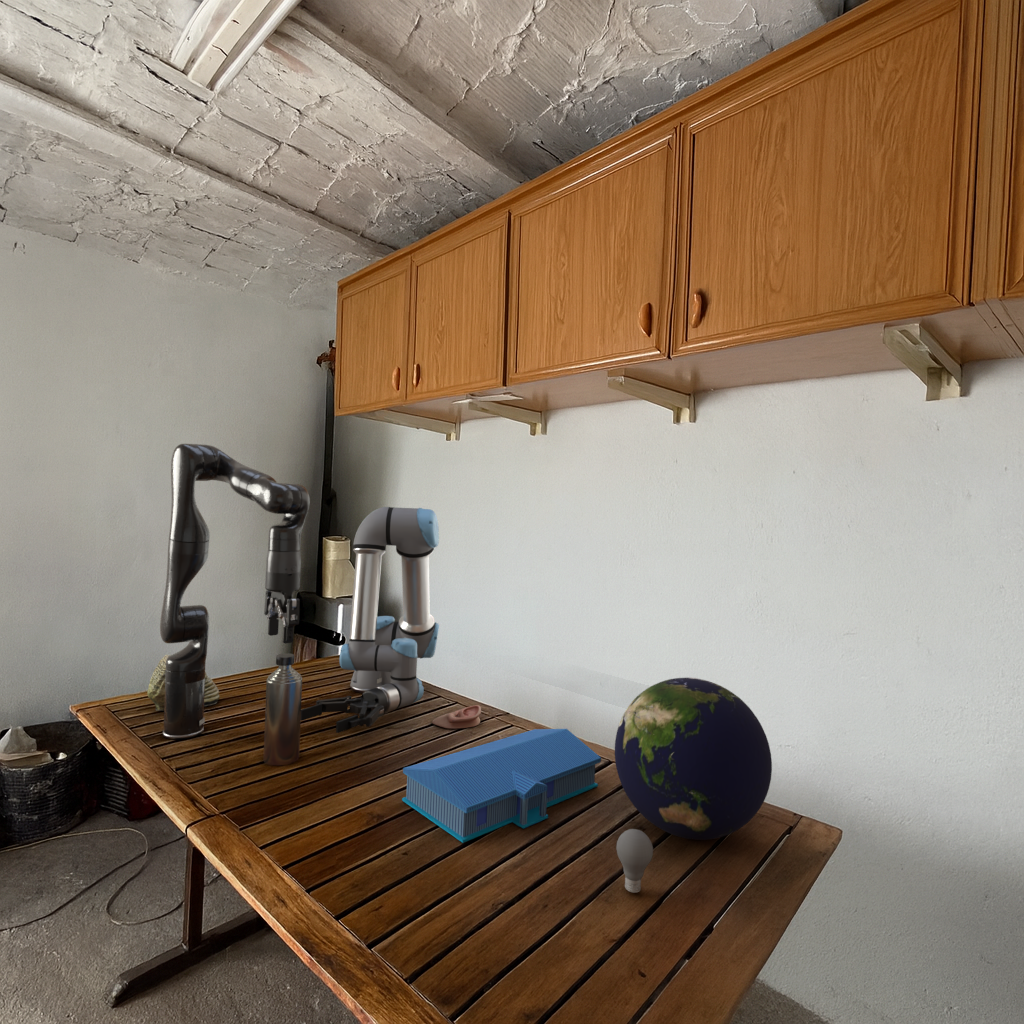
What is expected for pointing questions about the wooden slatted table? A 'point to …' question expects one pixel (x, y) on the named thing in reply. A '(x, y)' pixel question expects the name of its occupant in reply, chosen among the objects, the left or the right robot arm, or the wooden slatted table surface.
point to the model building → (501, 782)
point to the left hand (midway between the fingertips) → (280, 638)
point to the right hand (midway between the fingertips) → (318, 721)
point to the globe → (693, 758)
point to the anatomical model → (460, 718)
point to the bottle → (282, 716)
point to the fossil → (158, 687)
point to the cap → (285, 659)
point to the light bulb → (634, 857)
